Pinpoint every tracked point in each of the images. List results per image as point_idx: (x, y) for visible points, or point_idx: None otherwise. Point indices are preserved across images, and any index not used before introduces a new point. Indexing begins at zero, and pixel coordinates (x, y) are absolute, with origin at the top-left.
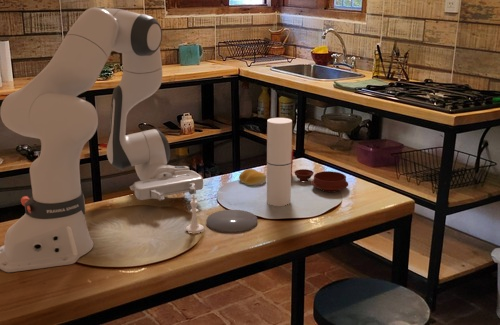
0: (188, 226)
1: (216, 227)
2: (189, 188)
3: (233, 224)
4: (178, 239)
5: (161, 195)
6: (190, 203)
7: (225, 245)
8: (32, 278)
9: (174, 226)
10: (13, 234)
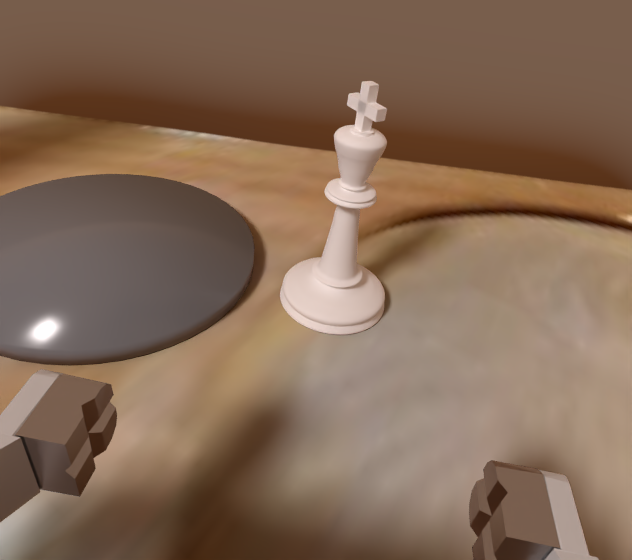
0: (365, 297)
1: (244, 233)
2: (80, 429)
3: (155, 213)
4: (452, 279)
5: (530, 468)
6: (385, 145)
7: (306, 175)
8: None
9: (416, 393)
10: None
